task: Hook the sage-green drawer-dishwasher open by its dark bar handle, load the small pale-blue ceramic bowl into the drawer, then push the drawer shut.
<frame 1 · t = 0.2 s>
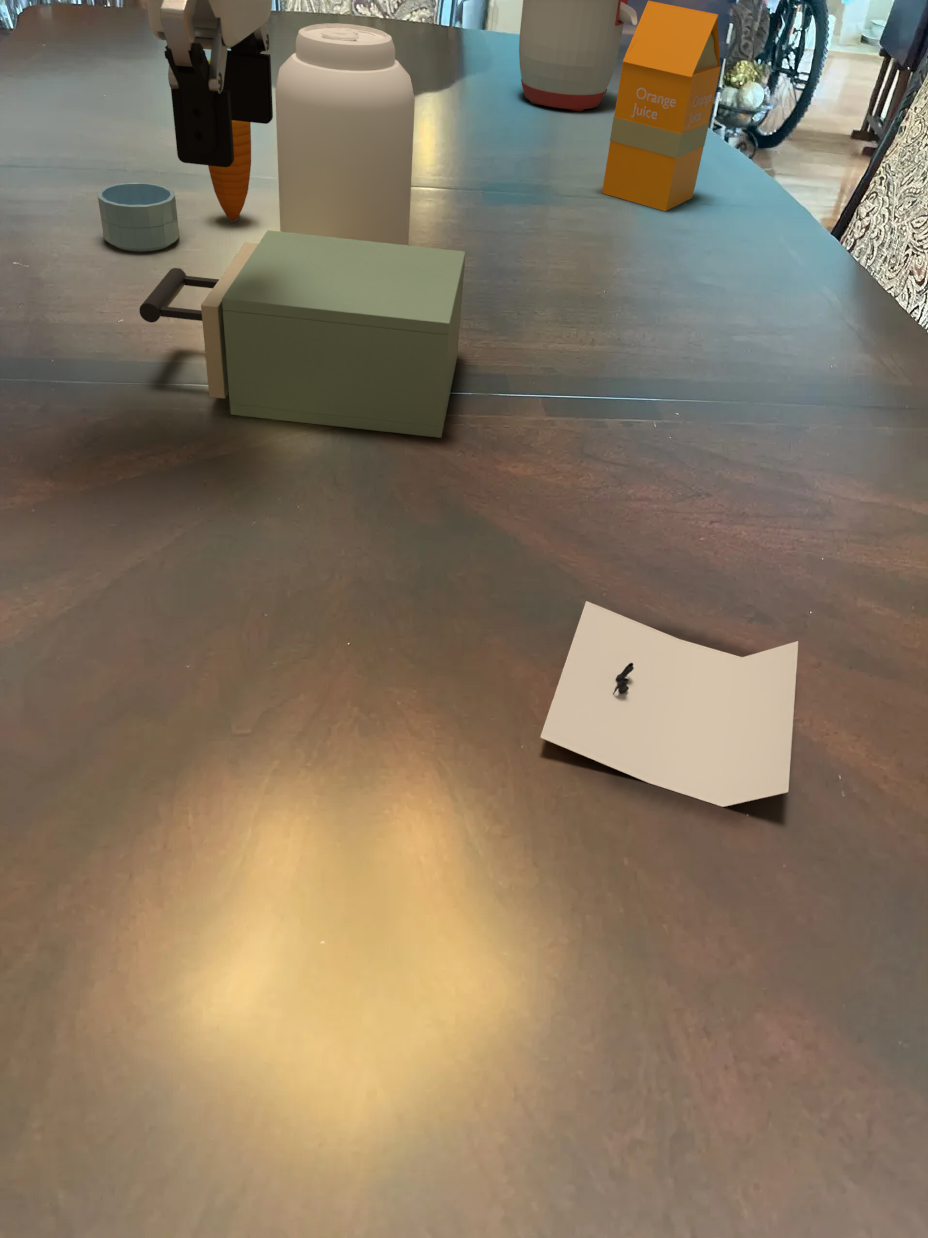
hand: (228, 140, 63), 19 cm above the table, tool pointing down, fingers open, 9 cm apart
folded paper: (669, 710, 55), on the table
bowl: (142, 240, 100), on the table
drawer: (286, 323, 78), point 5 cm above the table, slide at 0.5 cm
orange juice: (647, 196, 124), on the table
carrot: (233, 223, 106), on the table
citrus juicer: (566, 104, 157), on the table
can: (344, 260, 101), on the table
dishwasher: (351, 383, 81), on the table
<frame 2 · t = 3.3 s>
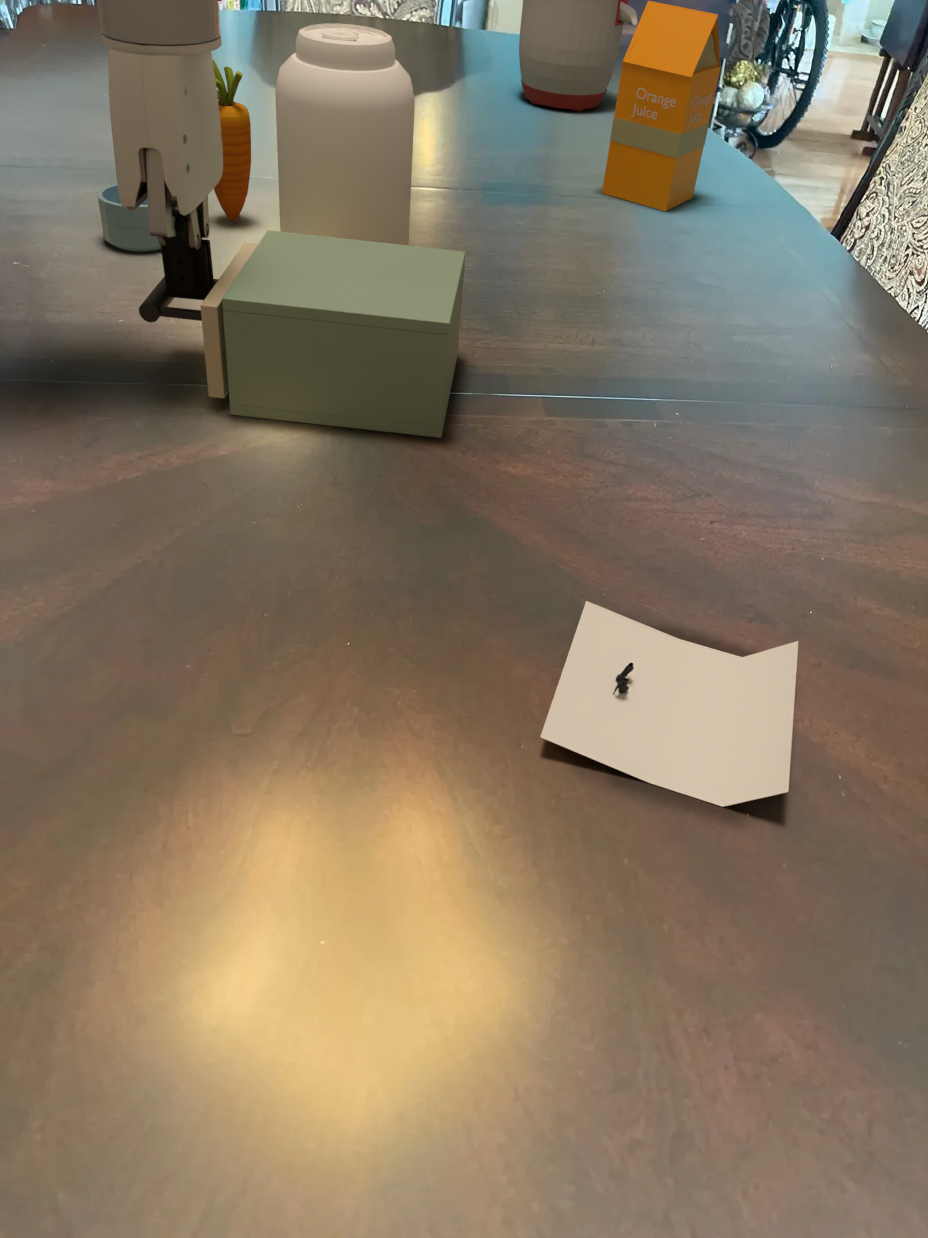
hand: (191, 293, 77), 6 cm above the table, tool pointing down, fingers closed
drawer: (285, 323, 78), point 5 cm above the table, slide at 0.5 cm, touching gripper
everything else where it was.
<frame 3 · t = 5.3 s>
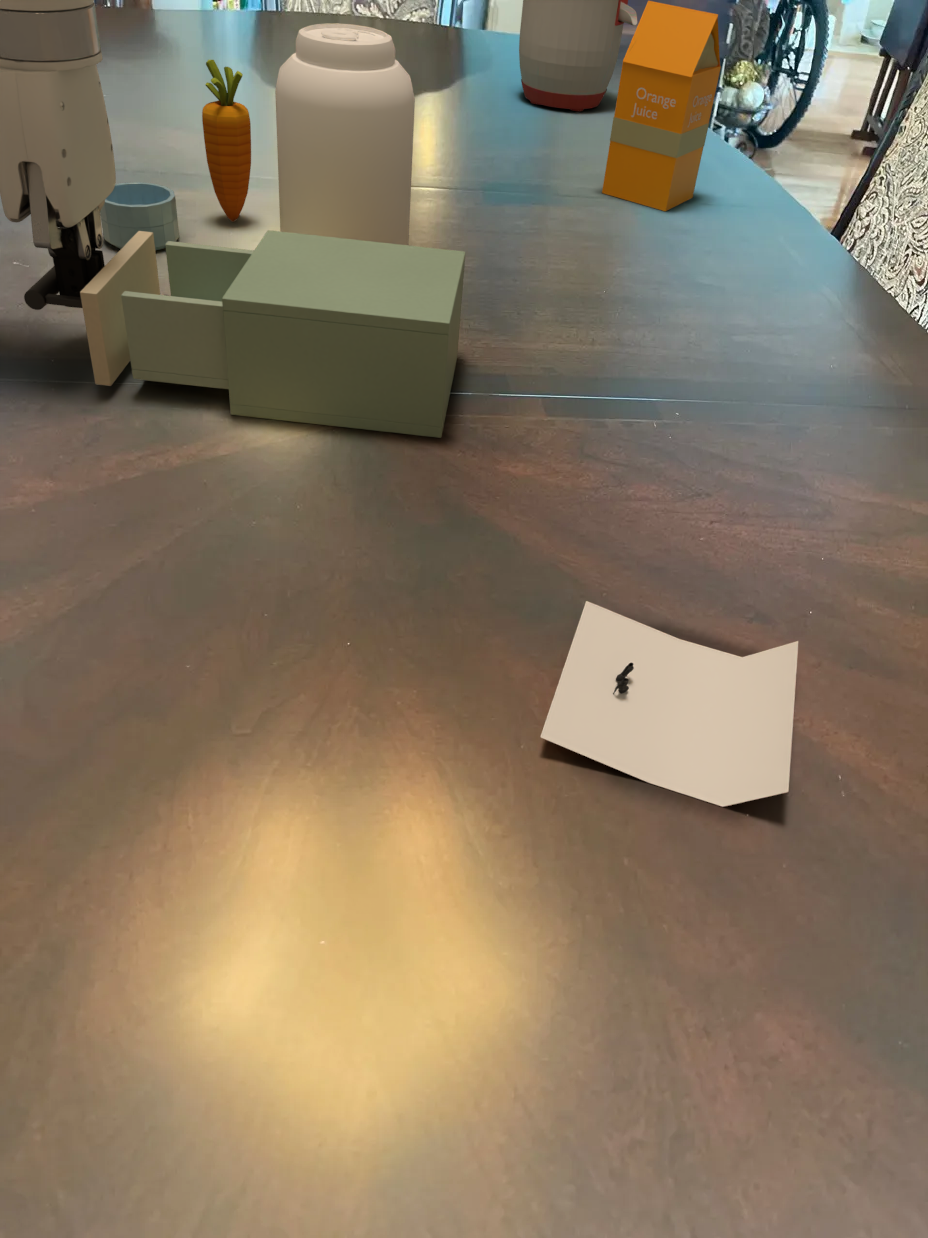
hand: (86, 303, 78), 4 cm above the table, tool pointing down, fingers closed
drawer: (175, 311, 78), point 4 cm above the table, slide at 9.1 cm, touching gripper
everything else where it was.
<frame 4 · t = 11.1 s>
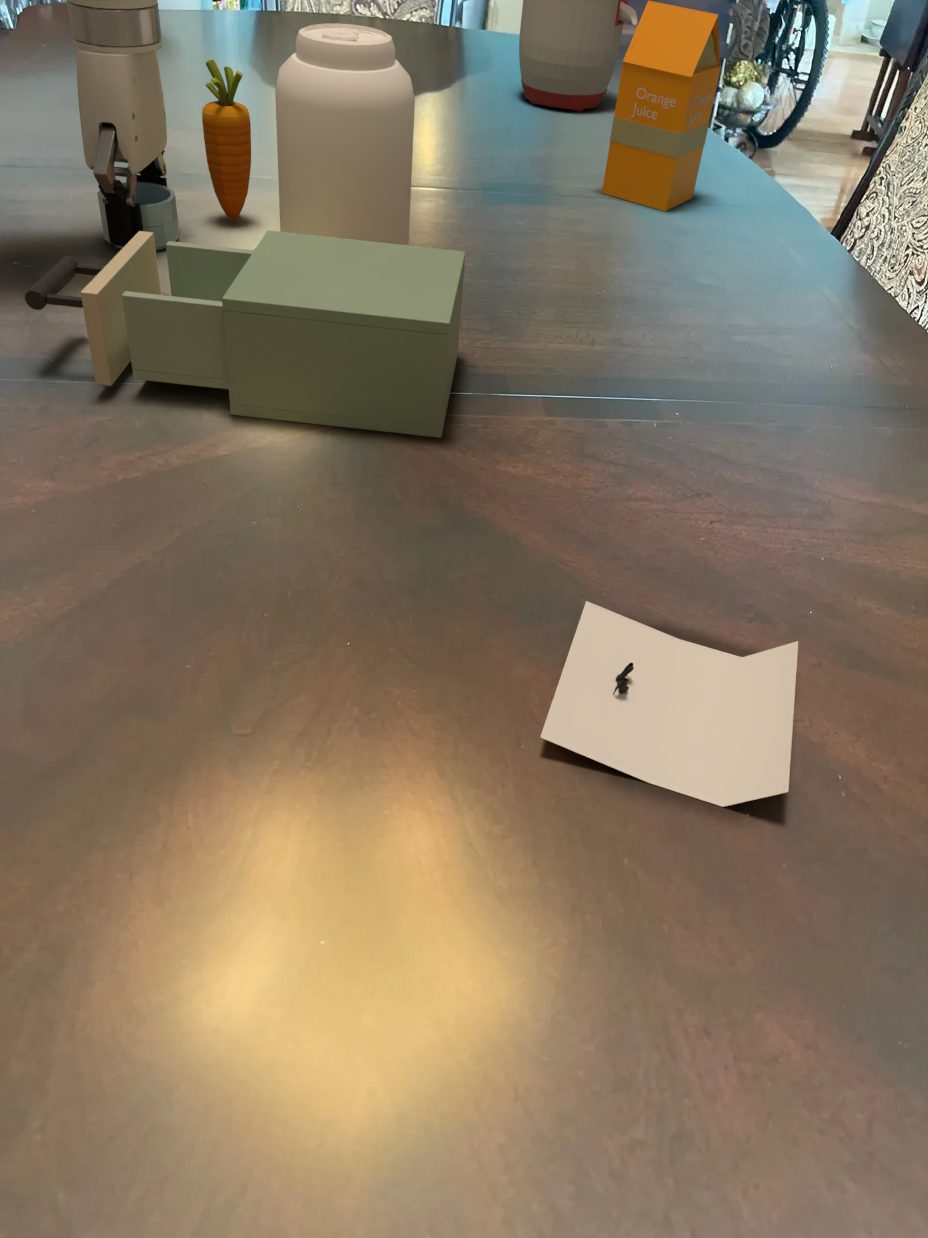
hand: (141, 229, 100), 1 cm above the table, tool pointing down, fingers closed on bowl, 7 cm apart
bowl: (142, 240, 100), on the table, touching gripper
drawer: (176, 311, 78), point 4 cm above the table, slide at 9.0 cm
everything else where it was.
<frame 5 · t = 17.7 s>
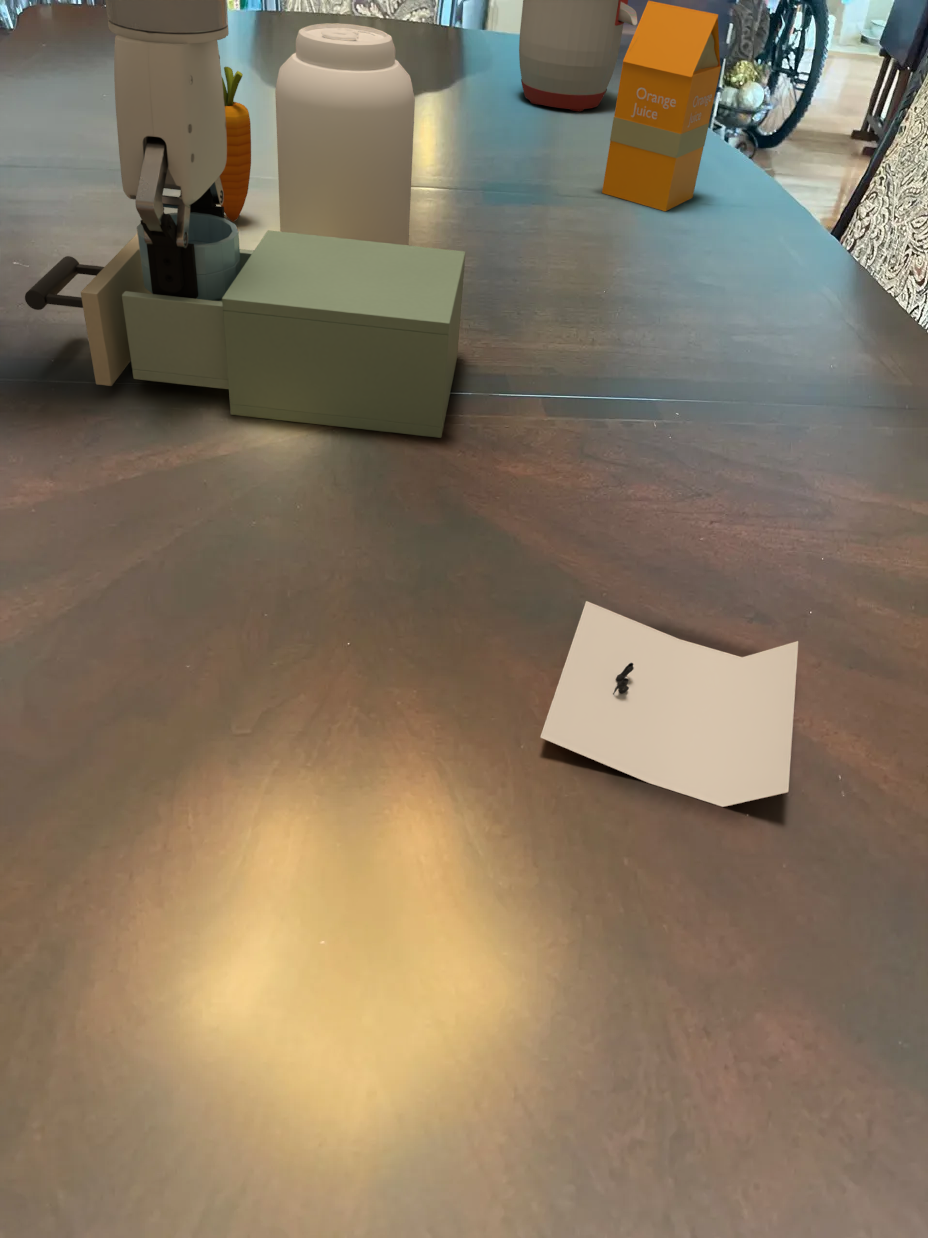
hand: (191, 275, 76), 7 cm above the table, tool pointing down, fingers closed on bowl, 7 cm apart
bowl: (193, 288, 77), point 6 cm above the table, touching gripper
everything else where it was.
when the fingers open (8 cm above the table, at t = 26.5 s): bowl drops 5 cm, resting on drawer.
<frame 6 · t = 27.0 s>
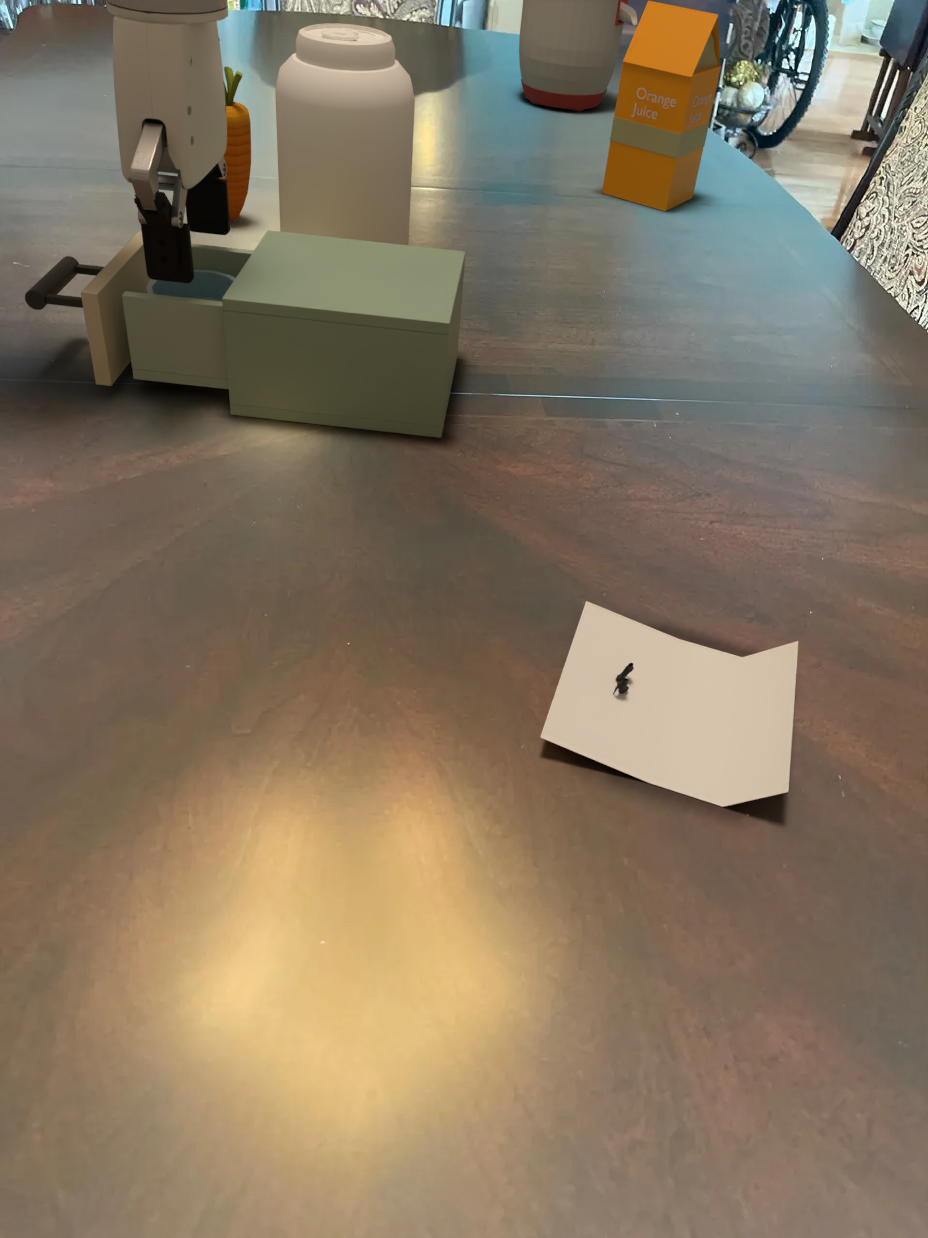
hand: (191, 254, 75), 9 cm above the table, tool pointing down, fingers open, 9 cm apart
bowl: (200, 343, 80), point 2 cm above the table, touching drawer
drawer: (176, 311, 78), point 4 cm above the table, slide at 9.0 cm, touching bowl
everything else where it was.
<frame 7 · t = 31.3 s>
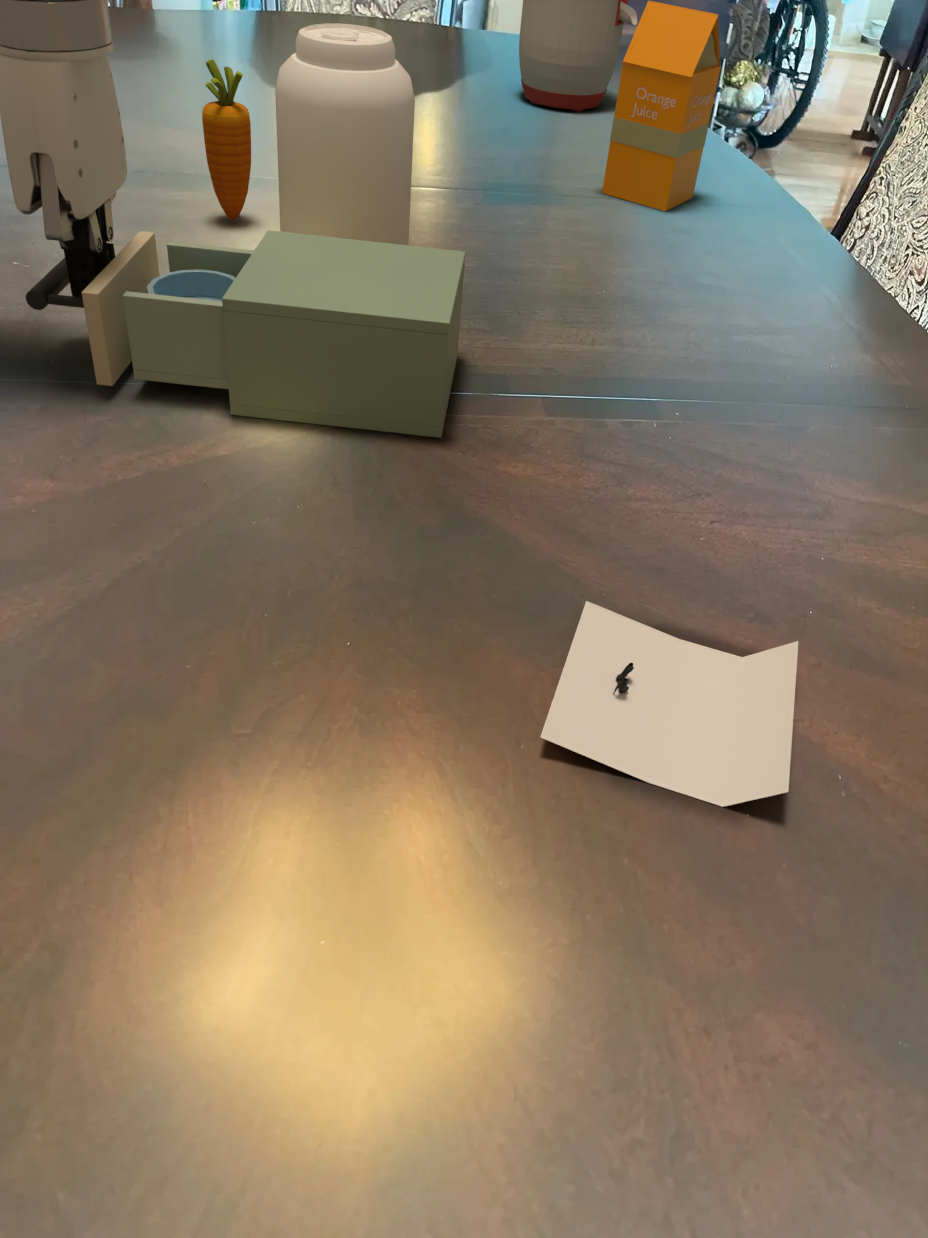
hand: (97, 296, 78), 5 cm above the table, tool pointing down, fingers closed
drawer: (177, 311, 78), point 4 cm above the table, slide at 8.9 cm, touching bowl, gripper
everything else where it was.
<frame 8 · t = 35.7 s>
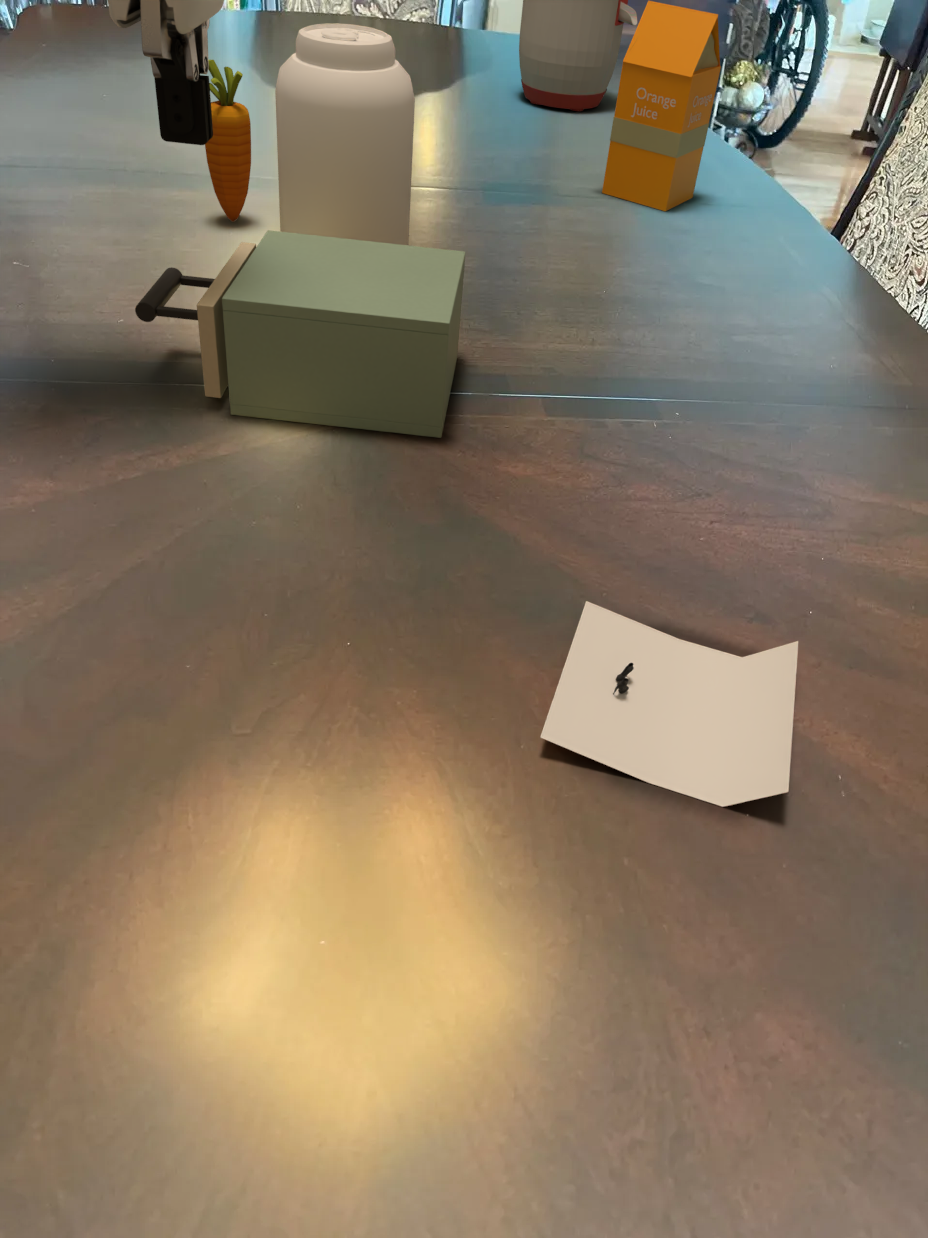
hand: (187, 139, 70), 17 cm above the table, tool pointing down, fingers closed
bowl: (304, 354, 79), point 2 cm above the table, touching drawer
drawer: (282, 322, 78), point 4 cm above the table, slide at 0.8 cm, touching bowl
everything else where it was.
at the end: drawer pulled out 9.1 cm at the most during the clip, back to 0.8 cm at the end; bowl inside the target area in the dishwasher (3.7 cm from its centre), point 2.1 cm above the dishwasher's base; drawer slide at 0.8 cm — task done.
